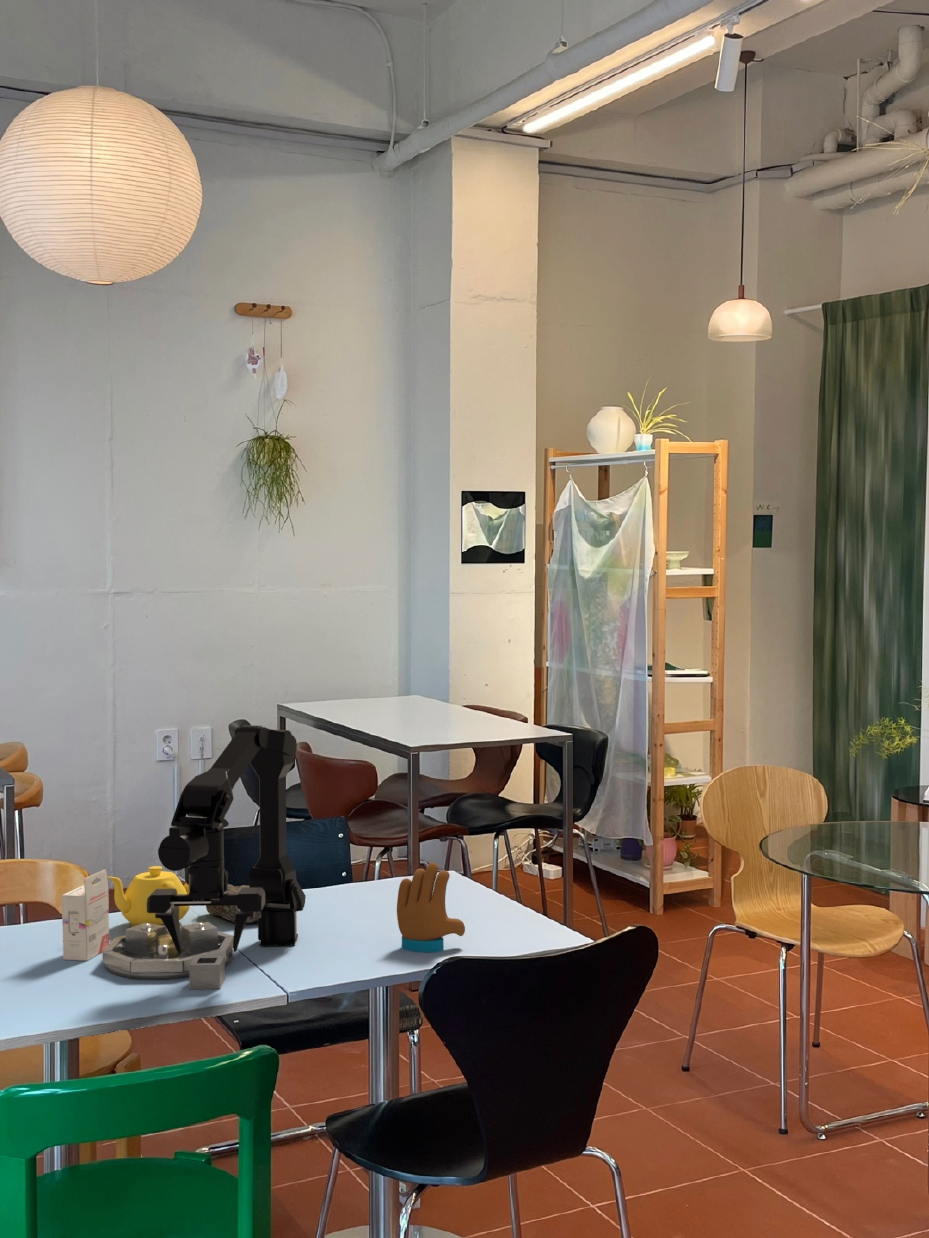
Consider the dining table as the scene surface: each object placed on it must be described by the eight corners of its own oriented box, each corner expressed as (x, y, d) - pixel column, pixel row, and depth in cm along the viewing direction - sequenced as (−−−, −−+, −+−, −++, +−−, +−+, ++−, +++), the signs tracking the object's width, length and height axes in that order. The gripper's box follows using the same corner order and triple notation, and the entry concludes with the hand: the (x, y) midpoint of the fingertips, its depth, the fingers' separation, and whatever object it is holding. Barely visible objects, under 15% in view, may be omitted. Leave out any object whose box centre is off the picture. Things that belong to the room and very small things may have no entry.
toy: (467, 944, 231) (466, 863, 230) (453, 955, 224) (453, 871, 224) (406, 939, 235) (406, 859, 234) (391, 949, 228) (391, 867, 228)
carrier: (241, 942, 233) (241, 911, 233) (222, 978, 211) (222, 944, 211) (122, 944, 232) (121, 912, 232) (90, 980, 210) (90, 946, 210)
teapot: (127, 943, 233) (126, 882, 233) (93, 927, 244) (92, 869, 244) (222, 924, 246) (221, 866, 246) (185, 910, 257) (185, 854, 257)
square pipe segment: (224, 979, 211) (224, 955, 211) (220, 988, 206) (219, 964, 206) (195, 979, 211) (194, 956, 210) (189, 989, 206) (189, 965, 205)
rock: (287, 922, 249) (258, 908, 261) (287, 889, 249) (258, 877, 262) (227, 929, 242) (200, 914, 255) (227, 895, 242) (200, 882, 255)
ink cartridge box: (85, 946, 231) (84, 867, 231) (110, 948, 230) (109, 868, 230) (61, 960, 223) (60, 877, 222) (87, 961, 222) (86, 878, 221)
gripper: (268, 847, 216) (269, 937, 216) (159, 848, 215) (160, 939, 216) (260, 861, 205) (261, 956, 205) (145, 862, 204) (146, 957, 205)
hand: (207, 951), depth 208 cm, fingers open, 9 cm apart
